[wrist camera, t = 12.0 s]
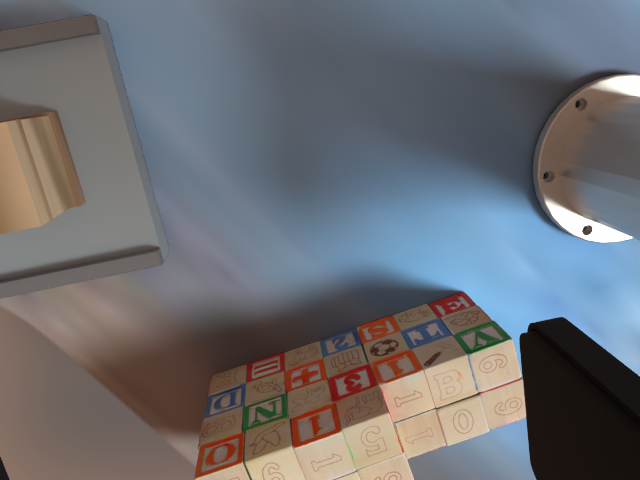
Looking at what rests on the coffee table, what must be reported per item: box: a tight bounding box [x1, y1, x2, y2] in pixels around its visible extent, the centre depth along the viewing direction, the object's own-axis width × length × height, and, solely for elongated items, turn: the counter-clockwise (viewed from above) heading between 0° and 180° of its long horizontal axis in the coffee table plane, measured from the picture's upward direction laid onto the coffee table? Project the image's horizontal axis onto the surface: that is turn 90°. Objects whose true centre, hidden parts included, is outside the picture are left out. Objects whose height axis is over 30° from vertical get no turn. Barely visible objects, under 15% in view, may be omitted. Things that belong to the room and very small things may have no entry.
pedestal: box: [0, 111, 86, 235], centre depth 33 cm, size 6×6×7 cm
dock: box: [0, 14, 169, 298], centre depth 36 cm, size 14×16×6 cm
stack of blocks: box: [194, 292, 526, 480], centre depth 39 cm, size 21×6×12 cm, turn 108°
